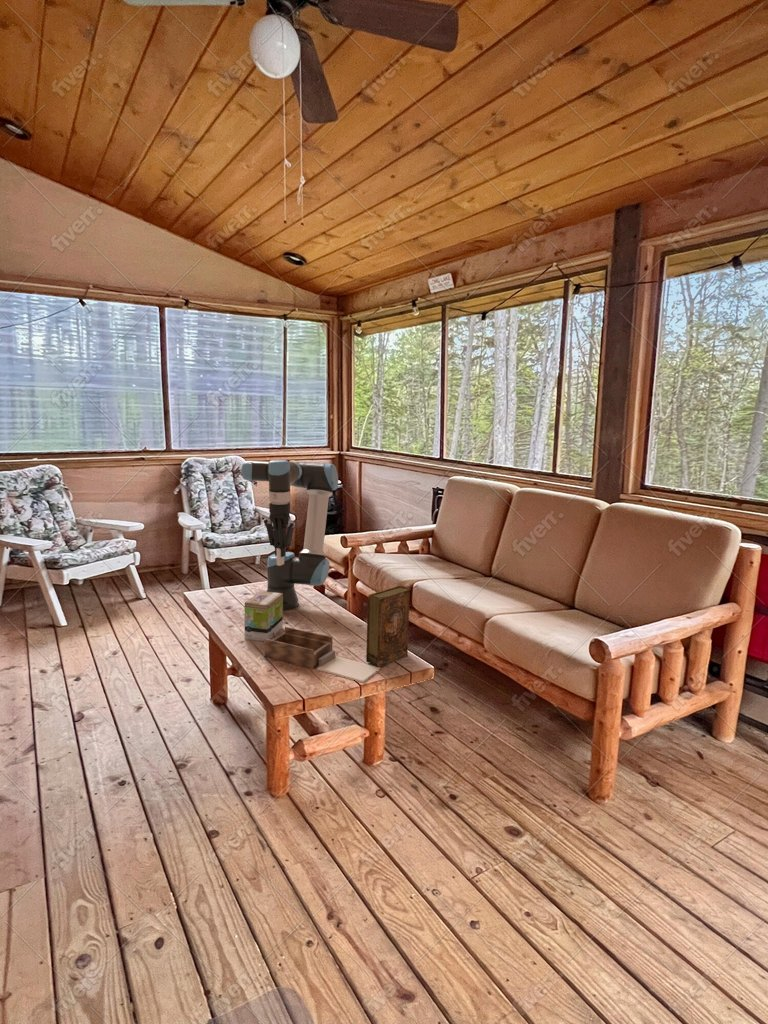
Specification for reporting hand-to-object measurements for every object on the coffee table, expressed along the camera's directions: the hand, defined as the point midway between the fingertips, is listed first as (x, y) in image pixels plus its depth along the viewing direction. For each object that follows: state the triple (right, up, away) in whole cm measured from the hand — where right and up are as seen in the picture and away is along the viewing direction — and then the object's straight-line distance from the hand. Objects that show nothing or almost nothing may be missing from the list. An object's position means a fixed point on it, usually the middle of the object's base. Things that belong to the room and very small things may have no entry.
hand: (280, 564), depth 219 cm
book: (+40, -33, -12) cm, 53 cm away
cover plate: (+27, -34, -20) cm, 48 cm away
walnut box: (+8, -32, -11) cm, 34 cm away
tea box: (-8, -28, +9) cm, 30 cm away
